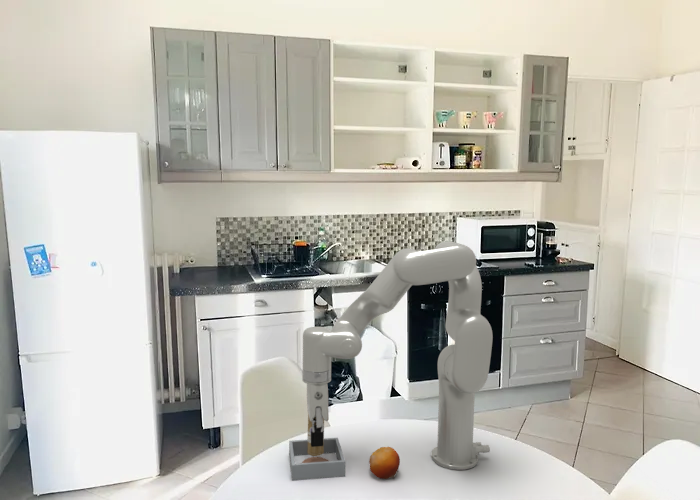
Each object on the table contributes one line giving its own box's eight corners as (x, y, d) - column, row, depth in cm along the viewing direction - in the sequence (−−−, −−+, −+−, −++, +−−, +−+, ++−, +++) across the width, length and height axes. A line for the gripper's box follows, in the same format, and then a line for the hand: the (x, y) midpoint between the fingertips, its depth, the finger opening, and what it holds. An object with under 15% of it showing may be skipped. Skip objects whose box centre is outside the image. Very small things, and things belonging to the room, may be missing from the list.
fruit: (405, 479, 130) (389, 451, 130) (378, 491, 132) (362, 464, 132) (408, 463, 138) (393, 437, 138) (382, 475, 140) (367, 449, 140)
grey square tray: (337, 451, 147) (337, 437, 147) (345, 476, 134) (345, 461, 133) (289, 454, 145) (289, 440, 144) (291, 480, 132) (291, 465, 131)
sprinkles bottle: (306, 456, 137) (306, 407, 136) (308, 448, 141) (308, 400, 140) (323, 457, 137) (324, 407, 135) (325, 449, 141) (325, 400, 140)
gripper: (335, 385, 129) (334, 456, 131) (327, 364, 146) (326, 427, 148) (305, 386, 128) (304, 457, 130) (300, 365, 145) (299, 428, 146)
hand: (316, 440), depth 139 cm, fingers closed on sprinkles bottle, 4 cm apart
